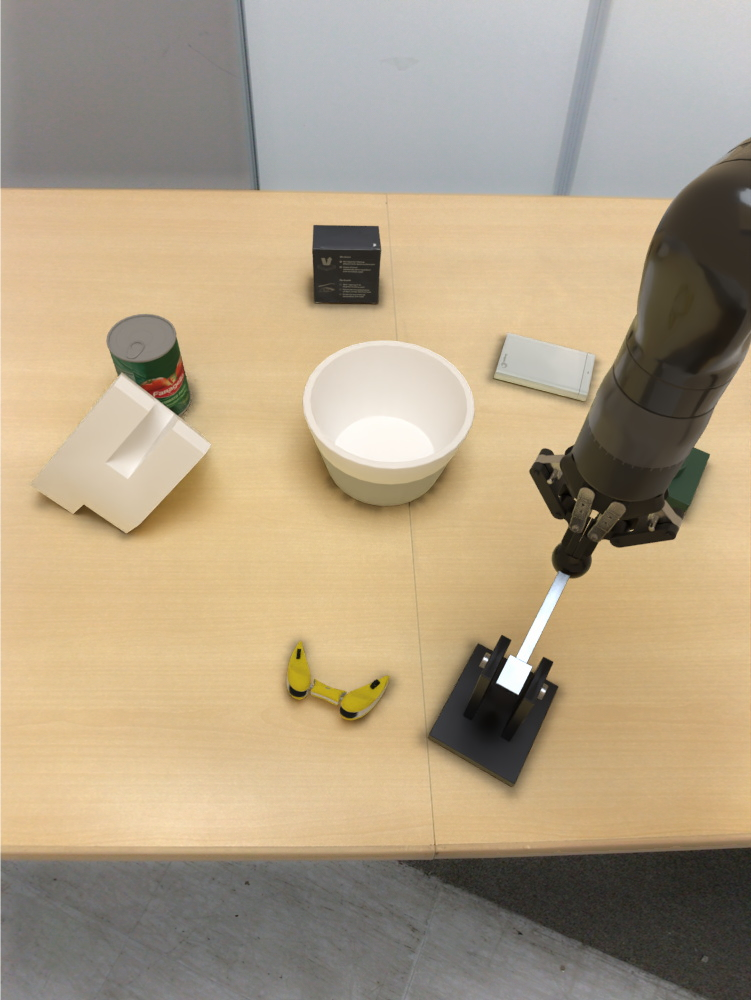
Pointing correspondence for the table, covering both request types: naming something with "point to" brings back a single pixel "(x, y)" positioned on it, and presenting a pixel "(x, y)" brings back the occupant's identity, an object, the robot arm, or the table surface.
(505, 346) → the hard drive
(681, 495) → the button box
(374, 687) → the yellow bent piece
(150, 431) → the slotted wedge
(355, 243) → the box
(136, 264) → the table surface
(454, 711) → the bracket
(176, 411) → the canned tomato
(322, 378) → the bowl
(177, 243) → the table surface
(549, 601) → the lever
